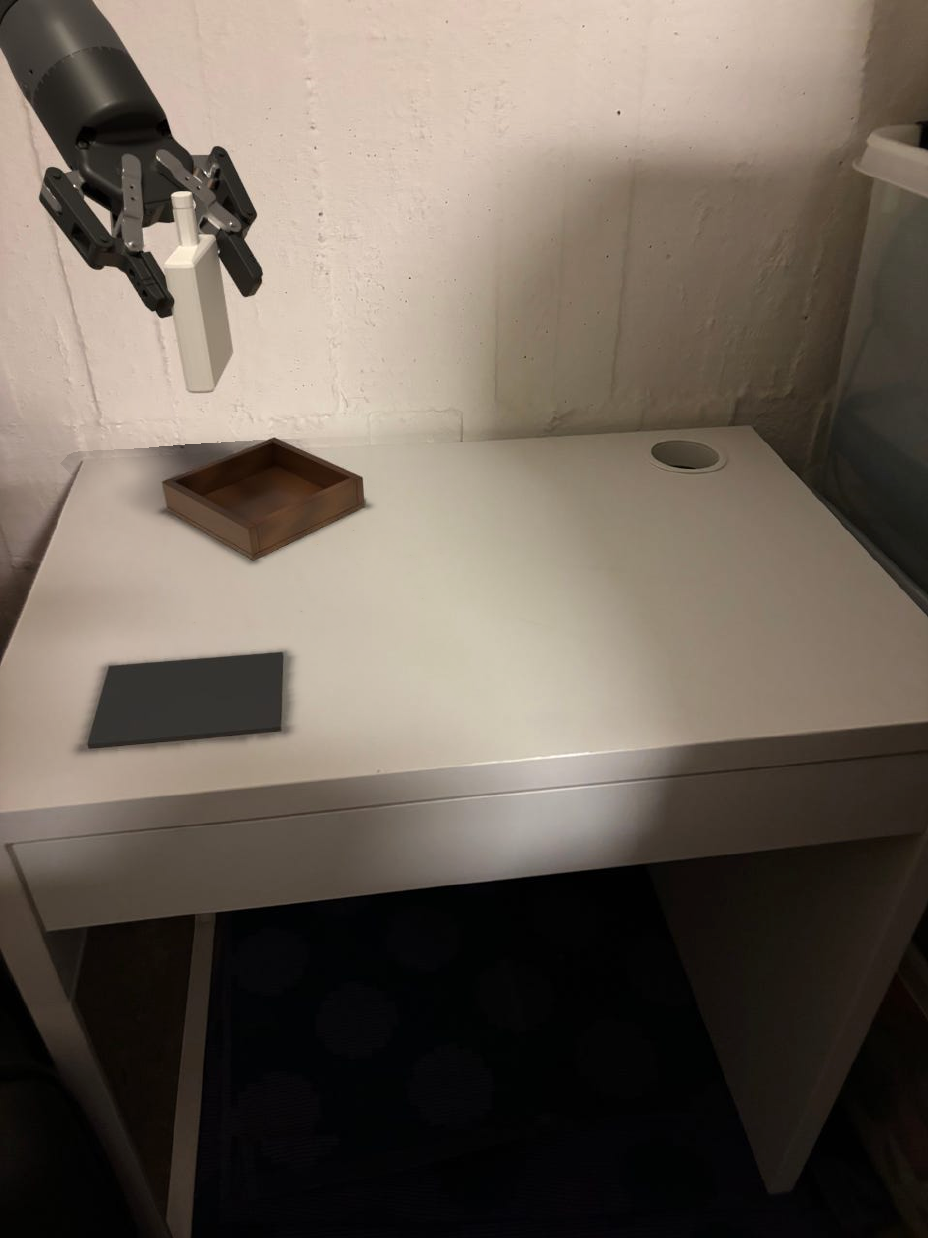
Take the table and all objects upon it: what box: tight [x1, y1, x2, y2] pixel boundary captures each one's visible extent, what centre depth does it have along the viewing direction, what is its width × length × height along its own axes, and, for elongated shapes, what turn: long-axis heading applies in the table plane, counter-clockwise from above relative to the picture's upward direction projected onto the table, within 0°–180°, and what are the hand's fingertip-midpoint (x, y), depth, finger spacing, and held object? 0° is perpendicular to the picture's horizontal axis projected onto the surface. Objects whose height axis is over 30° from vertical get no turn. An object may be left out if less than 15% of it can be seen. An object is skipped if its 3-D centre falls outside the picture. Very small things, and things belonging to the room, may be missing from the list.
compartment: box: [161, 436, 366, 561], centre depth 83 cm, size 13×13×3 cm
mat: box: [87, 651, 284, 749], centre depth 62 cm, size 12×8×1 cm, turn 98°
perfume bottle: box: [163, 191, 234, 394], centre depth 64 cm, size 8×2×12 cm, turn 2°
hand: (213, 299), depth 63 cm, fingers closed on perfume bottle, 6 cm apart
